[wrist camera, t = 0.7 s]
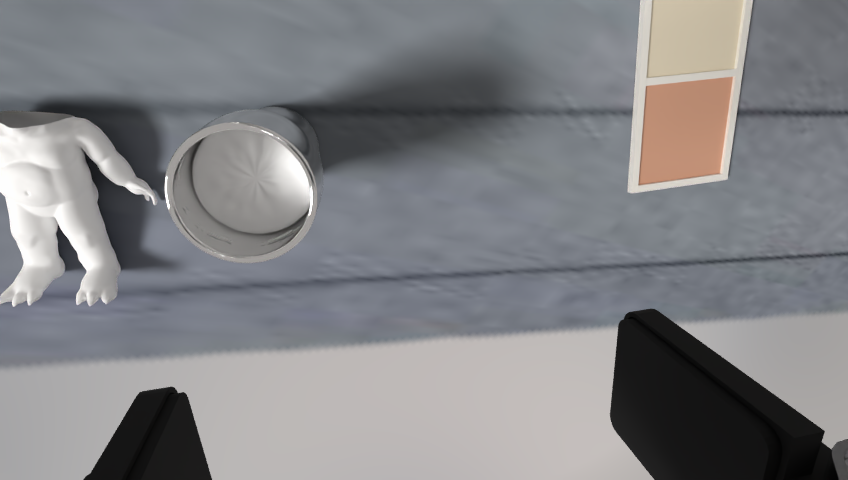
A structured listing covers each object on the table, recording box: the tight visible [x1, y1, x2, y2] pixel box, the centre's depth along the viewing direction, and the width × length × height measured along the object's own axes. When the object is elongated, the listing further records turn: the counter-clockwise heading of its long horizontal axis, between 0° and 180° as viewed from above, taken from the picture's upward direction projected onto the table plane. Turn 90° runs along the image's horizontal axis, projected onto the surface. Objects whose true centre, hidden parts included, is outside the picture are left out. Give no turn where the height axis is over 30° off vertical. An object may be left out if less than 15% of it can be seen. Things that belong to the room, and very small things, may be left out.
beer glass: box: [164, 106, 324, 263], centre depth 28 cm, size 7×7×15 cm
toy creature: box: [0, 111, 157, 307], centre depth 31 cm, size 12×6×12 cm
